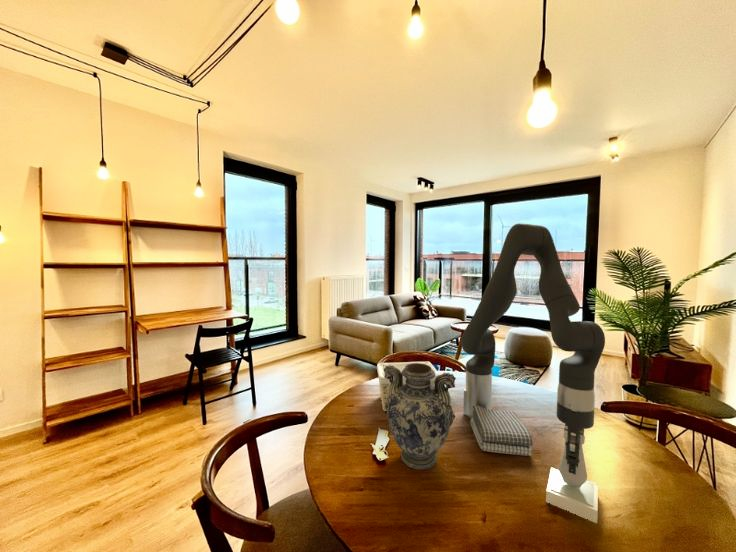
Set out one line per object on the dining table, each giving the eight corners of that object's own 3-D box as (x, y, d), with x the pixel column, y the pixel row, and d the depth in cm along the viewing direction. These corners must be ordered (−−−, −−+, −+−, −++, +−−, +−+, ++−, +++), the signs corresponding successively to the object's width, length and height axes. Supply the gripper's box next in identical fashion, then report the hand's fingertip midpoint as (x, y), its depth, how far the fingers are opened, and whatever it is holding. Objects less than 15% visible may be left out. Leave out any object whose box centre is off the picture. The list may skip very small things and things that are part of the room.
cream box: (379, 414, 116) (379, 376, 115) (376, 394, 132) (376, 362, 131) (440, 411, 117) (441, 375, 116) (430, 393, 133) (430, 360, 132)
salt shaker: (591, 492, 71) (593, 439, 70) (564, 488, 72) (566, 437, 71) (579, 474, 77) (581, 425, 76) (554, 471, 78) (556, 423, 77)
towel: (481, 455, 91) (482, 431, 91) (469, 422, 110) (469, 401, 109) (534, 459, 90) (535, 434, 89) (512, 425, 108) (513, 403, 107)
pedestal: (546, 502, 74) (546, 489, 74) (550, 477, 82) (551, 466, 81) (597, 523, 68) (597, 510, 67) (597, 495, 76) (597, 483, 75)
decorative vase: (457, 445, 96) (457, 360, 94) (453, 488, 78) (453, 385, 76) (392, 433, 103) (390, 354, 101) (375, 471, 85) (373, 376, 83)
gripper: (559, 388, 81) (557, 449, 82) (554, 409, 70) (551, 480, 71) (594, 395, 76) (591, 460, 78) (594, 420, 65) (591, 495, 66)
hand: (572, 469), depth 74 cm, fingers closed on salt shaker, 3 cm apart
